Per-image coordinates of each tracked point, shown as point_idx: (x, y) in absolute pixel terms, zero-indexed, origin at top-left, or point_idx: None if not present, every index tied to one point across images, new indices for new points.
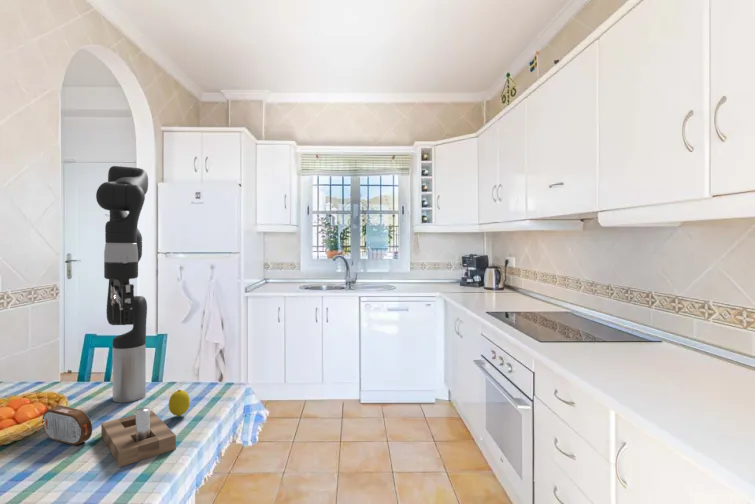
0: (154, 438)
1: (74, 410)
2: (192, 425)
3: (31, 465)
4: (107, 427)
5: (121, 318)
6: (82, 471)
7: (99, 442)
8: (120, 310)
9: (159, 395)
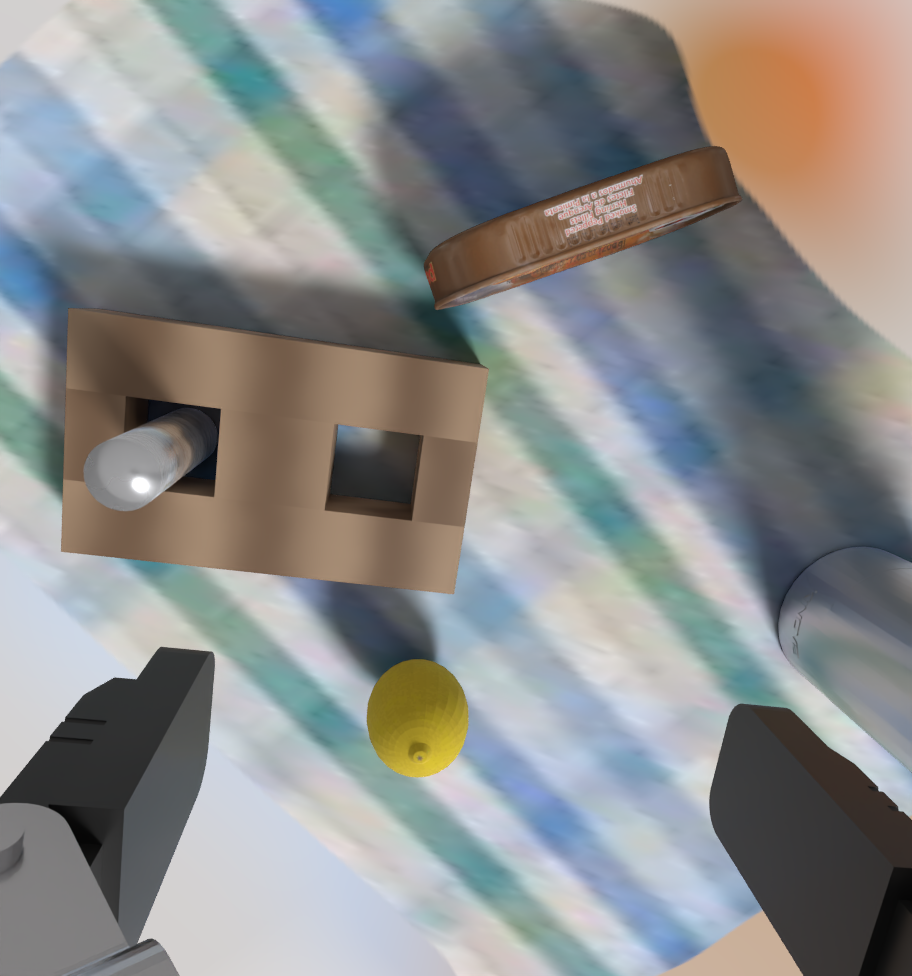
0: None
1: (548, 249)
2: (272, 677)
3: (414, 56)
4: (407, 370)
5: (127, 707)
6: (180, 190)
7: (421, 336)
8: (117, 812)
9: None
